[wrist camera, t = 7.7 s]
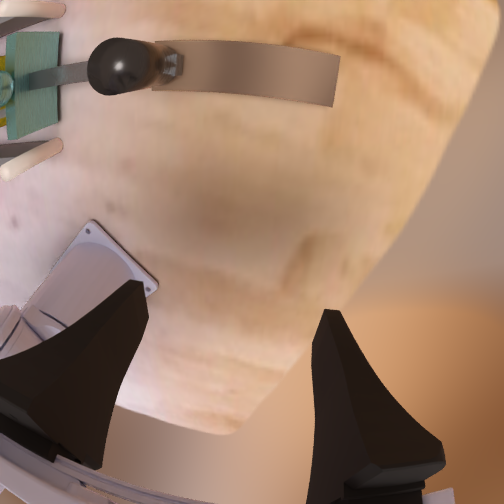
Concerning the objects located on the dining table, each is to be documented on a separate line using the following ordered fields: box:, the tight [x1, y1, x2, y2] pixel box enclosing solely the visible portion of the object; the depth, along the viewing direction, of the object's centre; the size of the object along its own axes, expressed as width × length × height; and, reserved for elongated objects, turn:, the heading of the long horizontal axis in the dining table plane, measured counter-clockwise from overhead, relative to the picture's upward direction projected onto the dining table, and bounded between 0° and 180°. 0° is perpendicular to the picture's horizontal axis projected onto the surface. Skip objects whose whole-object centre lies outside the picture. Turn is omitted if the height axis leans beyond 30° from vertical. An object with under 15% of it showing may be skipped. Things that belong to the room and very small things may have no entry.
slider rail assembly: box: [0, 32, 184, 140], centre depth 12 cm, size 12×7×8 cm, turn 84°
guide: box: [152, 40, 340, 107], centre depth 15 cm, size 10×3×2 cm, turn 84°
